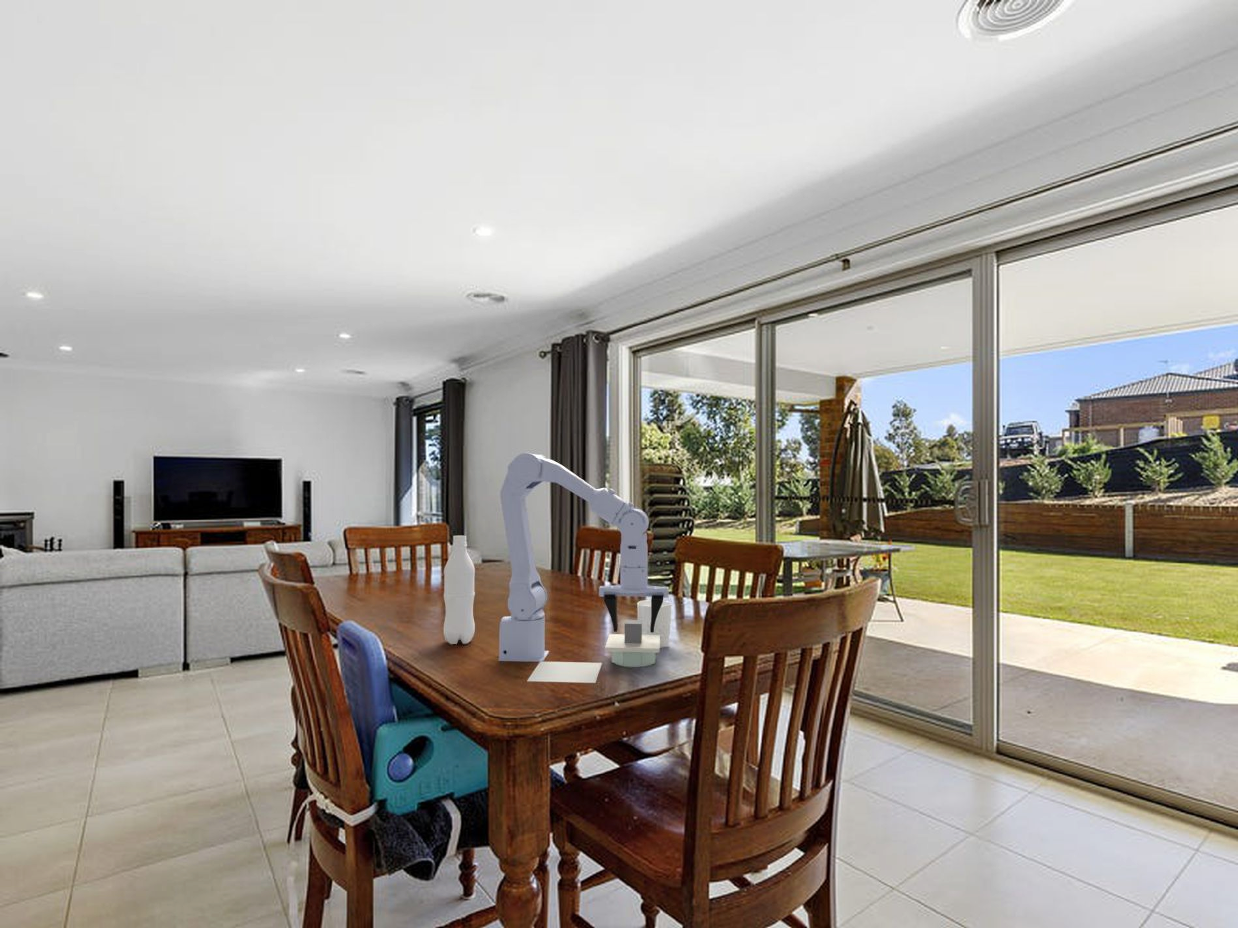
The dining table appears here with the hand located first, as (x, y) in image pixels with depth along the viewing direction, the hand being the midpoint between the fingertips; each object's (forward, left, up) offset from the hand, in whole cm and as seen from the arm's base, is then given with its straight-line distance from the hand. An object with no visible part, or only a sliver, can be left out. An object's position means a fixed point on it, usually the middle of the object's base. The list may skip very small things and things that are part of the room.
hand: (633, 631), depth 137 cm
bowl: (0, 0, -7) cm, 7 cm away
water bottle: (-42, +14, -7) cm, 45 cm away
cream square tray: (-13, -9, -7) cm, 17 cm away
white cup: (+4, +14, -7) cm, 16 cm away
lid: (0, 0, -3) cm, 3 cm away
